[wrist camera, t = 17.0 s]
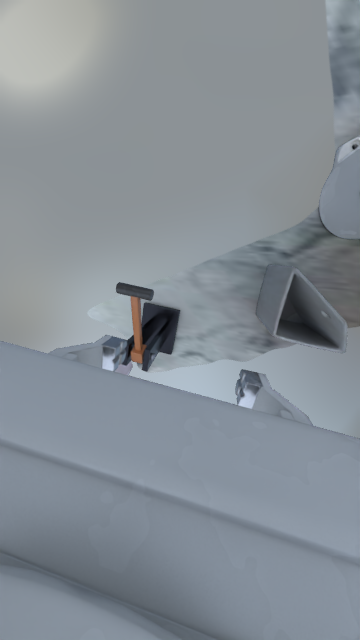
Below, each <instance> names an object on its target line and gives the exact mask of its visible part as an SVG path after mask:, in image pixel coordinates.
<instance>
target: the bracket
mask: <svg viewBox="0 0 360 640" xmlns="http://www.w3.org/2000/svg"><path fill="white" fill-rule="evenodd" d="M179 314H180V310H176V309H172V308H168V307H163V306H159V305H155V304H150V303H144V308H143V316H142V324H141V325H142V344H143V345H147V347H146V349H145V353H144V360H143V367H142V370H144V371H148V369H149V367H150V366H151V364H152V362H153V361H154V359H155V357H156V356H157V354H158V352H163V353H166V354H170V355H171V354H172V350H173V345H174V340H175V335H176V330H177V325H178V319H179ZM134 345H135V342H134V335H133V336H132V337H131V338H130V339H128V340H127V346H126V347H125V350H126V356H125V359H124V361H123V363H122V365H125V366H127V365H128V364H129V362H130V361H131V360H132V359H131V351H132V349H133V347H134Z"/></svg>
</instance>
